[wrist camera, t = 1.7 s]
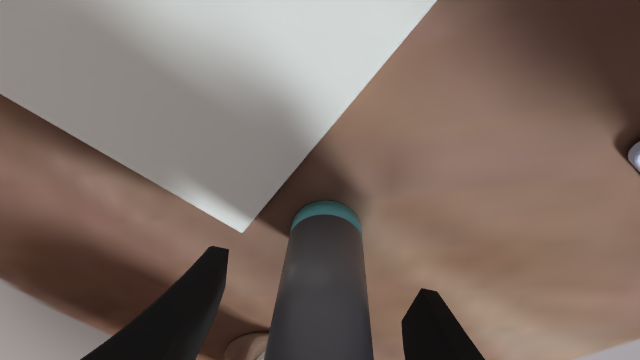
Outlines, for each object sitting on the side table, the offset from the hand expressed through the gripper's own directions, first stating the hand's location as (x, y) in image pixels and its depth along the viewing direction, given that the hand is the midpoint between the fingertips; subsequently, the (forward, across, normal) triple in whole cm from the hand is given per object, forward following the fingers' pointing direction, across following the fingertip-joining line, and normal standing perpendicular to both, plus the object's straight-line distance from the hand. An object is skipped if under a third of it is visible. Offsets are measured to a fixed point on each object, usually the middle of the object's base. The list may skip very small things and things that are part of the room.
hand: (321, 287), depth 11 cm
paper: (+3, +6, -7) cm, 10 cm away
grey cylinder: (+3, 0, 0) cm, 3 cm away
